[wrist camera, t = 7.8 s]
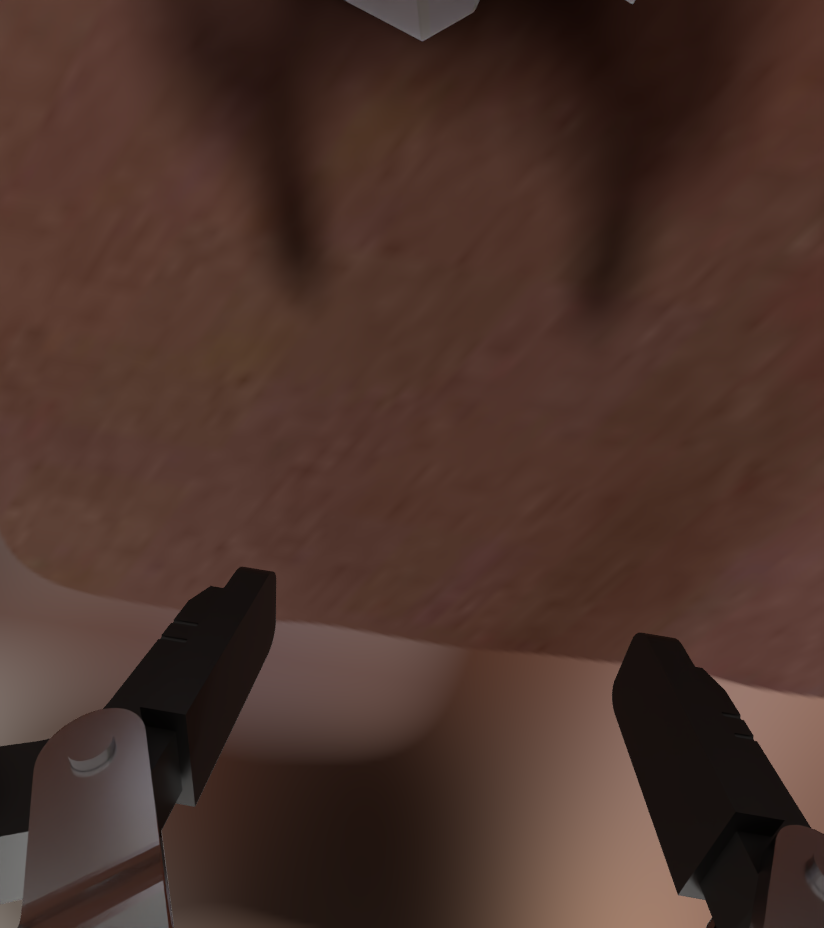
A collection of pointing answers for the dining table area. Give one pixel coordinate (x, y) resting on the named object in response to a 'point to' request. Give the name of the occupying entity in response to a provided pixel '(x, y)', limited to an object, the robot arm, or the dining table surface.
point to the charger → (420, 14)
